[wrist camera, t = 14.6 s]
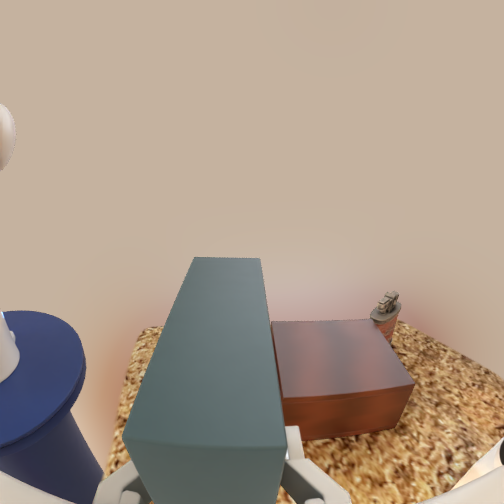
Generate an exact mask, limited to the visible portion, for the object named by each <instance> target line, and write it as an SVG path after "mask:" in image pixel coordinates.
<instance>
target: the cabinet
mask: <svg viewBox="0 0 504 504" xmlns="http://www.w3.org/2000/svg"><path fill="white" fill-rule="evenodd" d="M271 334H272V337H273V344H274V350H275V357H276V364H277V370H278V377H279V384H280V391H281V398H282V399H281V402H282V409H283V416H284V423H285V426H298V427H299V430H300V436H301V441H308V440H319V439H329V438H337V437H345V436H352V435H359V434H365V433H371V432H377V431H382V430H387V429H392V428H395V427H396V425H397V423H398V421H399V419H400V417H401V415H402V413H403V410H404V408H405V406H406V404H407V402H408V400H409V397H410V395H411V393H412V390H413V388H414V386H415V382H414V381H413V379H412V378H411V376H410V375H409V373H408V372H407V370H406V369H405V367H404V365H403V364H402V362H401V361H400V359H399V358H398V356H397V355H396V353H395V352H394V350H393V349H392V347H391V346H390V344H389V343H388V342H387V340H386V339H385V337H384V336H383V334H382V333H381V331H380V330H379V328H378V327H377V325H376V324H375V323H374V321H373V320H372V319H359V320H334V321H288V322H286V321H279V322H278V321H276V322H275V321H272V322H271Z"/></svg>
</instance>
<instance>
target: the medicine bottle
mask: <svg viewBox="0 0 504 504" xmlns="http://www.w3.org/2000/svg"><path fill="white" fill-rule="evenodd" d="M502 465H504V437H503V438H502V439H501V440H500V441H499V442H498V443H497V444H496V445H495V446H494V447H493V448H492V449H491V450H489V451H488V452H487V453H486V454H485V455H484V456H483V457H482V458H481V459H479V460H478V461H477V462H476V463H475V464H474V465H473V466H472V467H471V468H470V469H469V470H468V472H467V473H466V474H465V475H464V476H463V477H462V478H461V479H460V481H459V482H458V483H457V484H456V485H455V486H454V487H453V488H452V489H451V490H453V489H455V488H457V487H459V486H462V485H464V484H466V483H468V482H470V481H472V480H475V479H477V478H479V477H481V476H483V475H484V474H486V473H488V472H490V471H492V470H494V469H496V468H497V467H500V466H502Z"/></svg>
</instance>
